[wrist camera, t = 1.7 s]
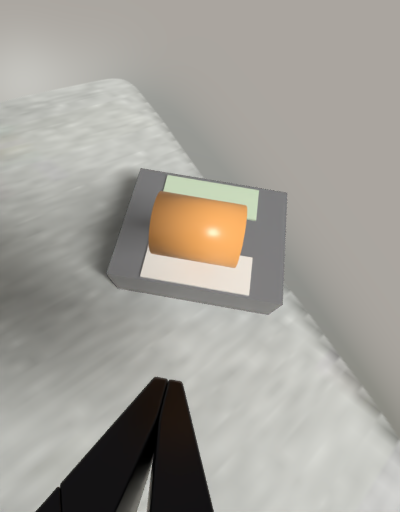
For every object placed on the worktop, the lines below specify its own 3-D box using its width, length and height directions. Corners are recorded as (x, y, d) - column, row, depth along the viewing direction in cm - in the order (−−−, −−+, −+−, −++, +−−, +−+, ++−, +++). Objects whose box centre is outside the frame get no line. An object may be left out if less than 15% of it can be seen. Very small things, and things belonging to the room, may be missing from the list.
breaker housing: (268, 314, 23) (283, 304, 19) (117, 288, 23) (105, 272, 19) (274, 215, 27) (287, 191, 23) (146, 193, 27) (140, 166, 23)
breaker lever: (221, 251, 21) (237, 272, 9) (181, 244, 21) (144, 256, 9) (226, 221, 21) (250, 201, 9) (186, 214, 21) (155, 185, 9)
